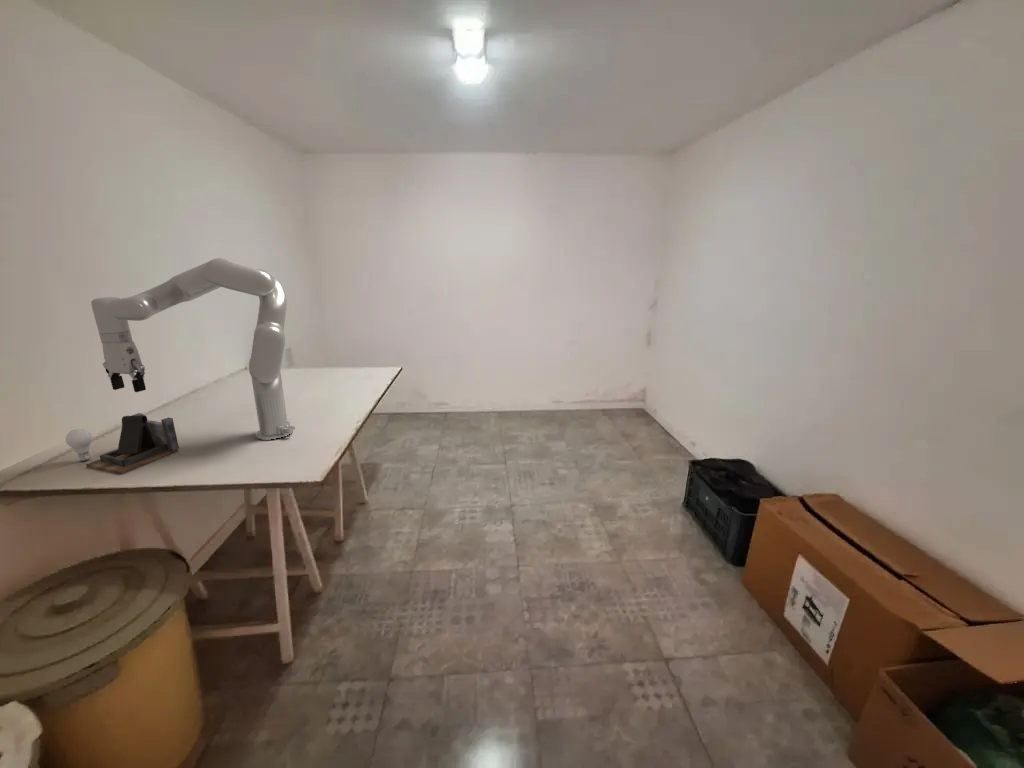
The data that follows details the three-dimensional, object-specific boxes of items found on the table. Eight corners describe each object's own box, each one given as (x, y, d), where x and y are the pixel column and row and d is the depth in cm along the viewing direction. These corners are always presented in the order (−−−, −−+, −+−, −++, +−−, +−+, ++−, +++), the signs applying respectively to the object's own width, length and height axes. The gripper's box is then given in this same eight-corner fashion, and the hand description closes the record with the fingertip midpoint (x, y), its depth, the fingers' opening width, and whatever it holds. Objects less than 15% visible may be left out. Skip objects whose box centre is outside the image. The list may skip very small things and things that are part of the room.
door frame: (179, 451, 160) (172, 418, 157) (121, 474, 143) (112, 438, 140) (146, 445, 165) (139, 413, 162) (86, 467, 148) (77, 431, 145)
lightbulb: (71, 460, 153) (62, 429, 150) (97, 454, 157) (88, 424, 154) (72, 466, 148) (63, 434, 145) (98, 460, 153) (90, 429, 150)
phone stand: (136, 454, 150) (133, 417, 149) (116, 455, 150) (114, 417, 149) (155, 448, 159) (153, 413, 158) (137, 449, 158) (134, 414, 158)
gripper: (148, 336, 147) (160, 388, 152) (110, 334, 152) (123, 384, 157) (122, 341, 140) (136, 395, 145) (83, 338, 145) (98, 391, 150)
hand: (129, 389), depth 151 cm, fingers open, 9 cm apart
